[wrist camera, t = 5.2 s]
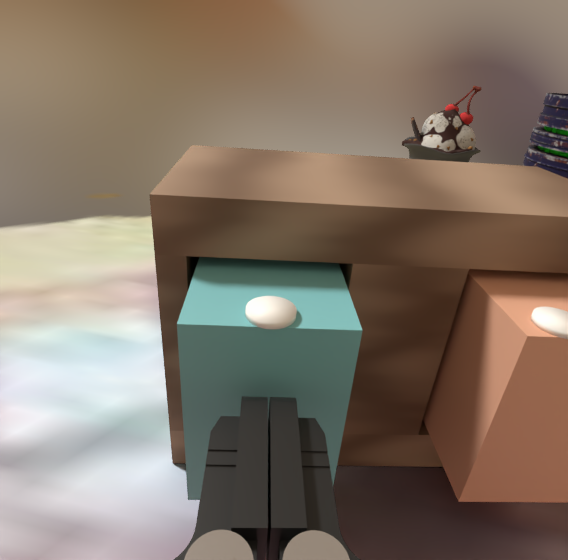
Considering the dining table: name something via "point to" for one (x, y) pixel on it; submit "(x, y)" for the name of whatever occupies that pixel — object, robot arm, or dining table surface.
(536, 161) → the dark blue barrel
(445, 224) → the walnut console
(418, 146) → the sundae
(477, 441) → the terracotta button
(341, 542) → the robot arm
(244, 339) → the grey-green piece
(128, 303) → the dining table surface
